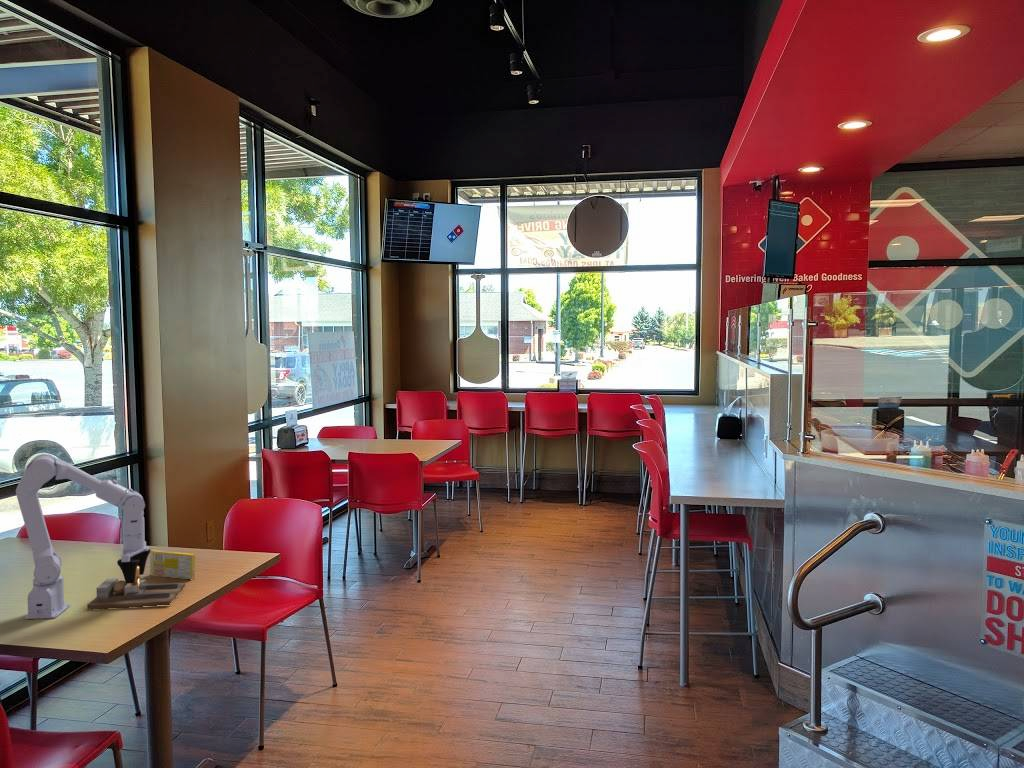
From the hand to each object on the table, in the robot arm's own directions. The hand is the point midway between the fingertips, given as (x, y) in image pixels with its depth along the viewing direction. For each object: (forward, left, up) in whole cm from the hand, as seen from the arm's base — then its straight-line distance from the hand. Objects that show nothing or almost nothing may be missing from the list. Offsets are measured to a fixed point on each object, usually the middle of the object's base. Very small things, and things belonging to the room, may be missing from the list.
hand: (134, 578), depth 216 cm
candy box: (+19, -5, -6) cm, 21 cm away
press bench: (0, -1, -6) cm, 6 cm away
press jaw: (0, 0, -4) cm, 4 cm away
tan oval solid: (0, +4, -2) cm, 5 cm away
